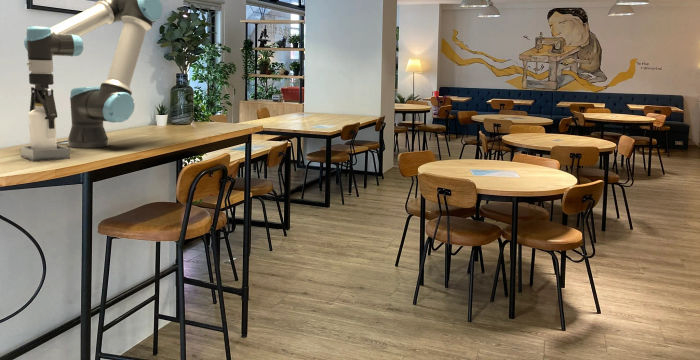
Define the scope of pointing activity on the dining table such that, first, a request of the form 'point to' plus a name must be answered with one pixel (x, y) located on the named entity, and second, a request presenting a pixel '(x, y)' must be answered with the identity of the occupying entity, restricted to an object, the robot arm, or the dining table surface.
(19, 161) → the dining table surface
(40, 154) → the grey square tray
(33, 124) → the potion bottle
